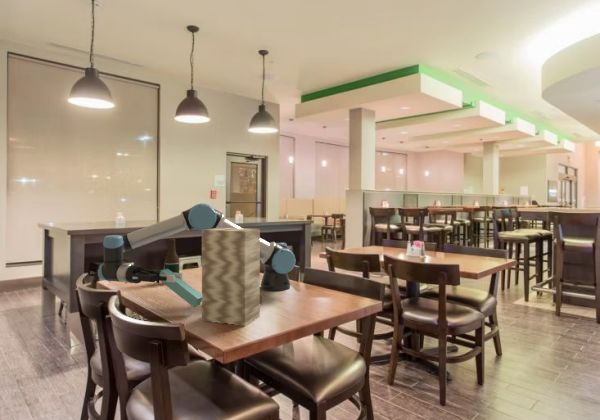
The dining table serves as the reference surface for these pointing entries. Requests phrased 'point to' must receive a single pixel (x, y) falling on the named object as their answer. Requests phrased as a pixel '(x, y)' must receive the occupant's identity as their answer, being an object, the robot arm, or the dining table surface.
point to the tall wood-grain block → (231, 275)
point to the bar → (183, 289)
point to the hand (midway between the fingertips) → (177, 277)
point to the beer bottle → (172, 257)
